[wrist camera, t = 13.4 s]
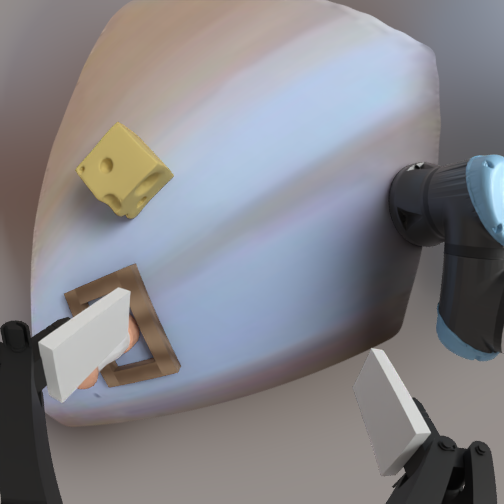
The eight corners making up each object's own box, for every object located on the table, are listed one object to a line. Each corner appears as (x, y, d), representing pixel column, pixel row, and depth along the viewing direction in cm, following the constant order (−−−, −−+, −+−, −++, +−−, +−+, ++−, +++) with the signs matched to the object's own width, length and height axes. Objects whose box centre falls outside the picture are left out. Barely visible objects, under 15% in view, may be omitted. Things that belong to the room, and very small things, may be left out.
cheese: (135, 219, 46) (108, 219, 36) (100, 176, 45) (70, 168, 35) (178, 175, 45) (160, 163, 35) (140, 134, 44) (116, 115, 34)
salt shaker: (116, 351, 48) (64, 400, 29) (99, 316, 47) (38, 354, 28) (146, 341, 48) (98, 394, 29) (128, 304, 47) (70, 342, 28)
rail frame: (181, 365, 48) (177, 372, 46) (113, 381, 49) (109, 387, 46) (135, 263, 46) (129, 265, 44) (70, 290, 47) (63, 293, 44)
